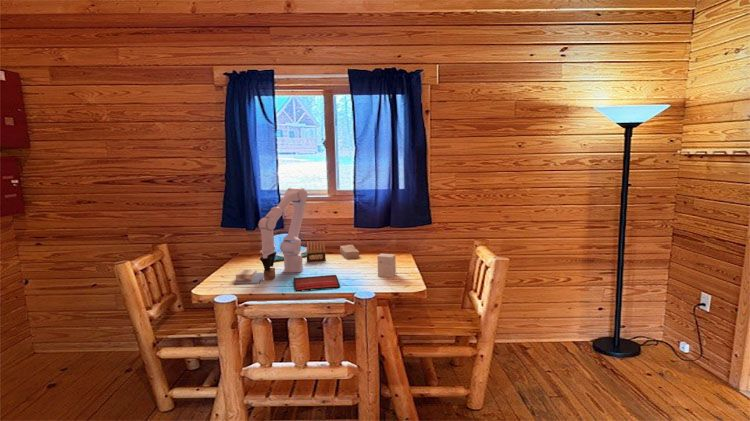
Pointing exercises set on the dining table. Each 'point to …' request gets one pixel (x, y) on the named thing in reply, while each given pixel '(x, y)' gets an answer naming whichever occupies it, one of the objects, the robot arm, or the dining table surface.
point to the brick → (349, 251)
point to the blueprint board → (255, 281)
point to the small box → (386, 265)
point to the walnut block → (269, 274)
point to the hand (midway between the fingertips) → (269, 268)
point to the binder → (316, 282)
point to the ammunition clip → (316, 252)
